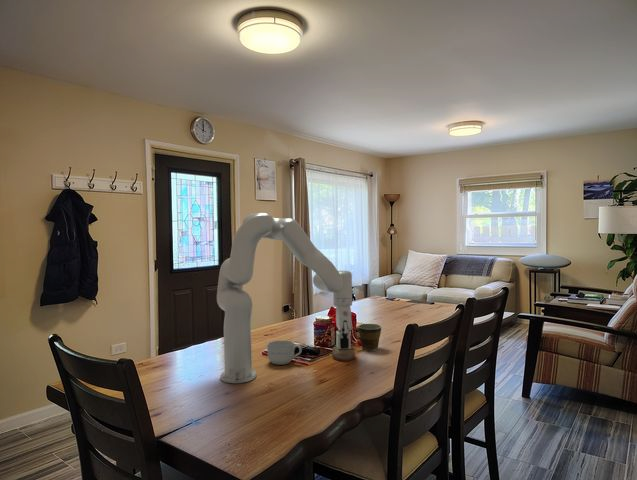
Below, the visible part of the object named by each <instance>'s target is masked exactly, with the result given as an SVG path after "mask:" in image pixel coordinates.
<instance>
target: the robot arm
mask: <svg viewBox="0 0 637 480" xmlns="http://www.w3.org/2000/svg"><path fill="white" fill-rule="evenodd" d="M262 239H268V240H278V241H283V242H284V244H285V245H286V247H287V248H288V249H289V250H290V253H292V255H293V256H294V258H295V259H296V260H297V261H298V262H299V263H300V264H302V265H303V266H305V267H307V268H309V269H311V271H312V272H314V273H315V274H314V275H313V277H312V283H313V285H314V286H315V288H316V289H318V290H321V291H325V292H329V293H333V294H332V295H333V298H332V299H333V306H335V323H336V324H335V325H336V328H337V329H338V330H337V331H341V338H340V347H341V348H349V338H348V331H349V332H350V331H351V330H352V328H353V326H352V325H353V323H352V322H353V321H352V309H351V307H352V306H353V274H352V272H351V271H349V270H338V269H337V268H336V266H335V265H334V263H333V262H332V261H331V260H330V259H329V258H328V257H327V256H326V255H324V253H322V252H321V251H320V250H319V249H318V248H317V247H316V246H315V245H314V243H313V242H312V240H311V239H310V238H309V236H308V235H307V233H306V232H305V230H304V229H303V228H302V226H301V225H300V224H299V222H298V221H297V220H296V219H294V218H290V217H289V218H286V217H285V218H279V217H276V218H275V217H272V215H271V214H269V213H266V212H257V213H250V214H248V215H246V216H245V217H244V219H243V220H242V224H241V225H240V226H239V228H238V229H237V231H236V232H235V233H234V237H233V240H232V245H231V251H230V257H229V258H226V259H225V260H224V261H223V262H222V264H221V266H220V268H219V275H218V282H217V291H216V303H217V305H218V308H220V309H221V310H222V311H224V317H223V318H224V320H223V344H224V346H223V349H224V350H223V351H224V352H223V353H224V355H223V356H224V371H223V372H222V373H221V374H220V375H219V377H220V380H221V381H222V382H224V383H226V384H242V383H243V384H244V383H247V382H250V381H252V380H254V379H256V377H257V372H256V370H254V369H253V363H252V362H253V361H252V360H253V359H252V358H253V357H252V355H253V354H252V313H253V299H252V297H251V296H250V294H249V293H248V292H247V291H246V290H244V289H243V287H244V285H245V286H246V285H247V284H248V283H250V281H252V279H253V274H254V267H255V256H256V251H257V246H258V244H259V242H260V241H261V240H262ZM352 331H353V330H352ZM343 332H344V333H343Z"/></svg>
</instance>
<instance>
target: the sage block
mask: <svg viewBox="0 0 637 480" xmlns="http://www.w3.org/2000/svg"><path fill="white" fill-rule="evenodd" d="M343 333H344V332H343ZM351 334H352V333H351V332H350V330H348V338H349V348H351V347H352V346H351V345H352V343H351ZM340 338H341V331H338V330H336V331H335V339H336V340H335V347H336V346H337V348H338V349H348V348H341V347H340Z"/></svg>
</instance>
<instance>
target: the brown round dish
mask: <svg viewBox="0 0 637 480" xmlns="http://www.w3.org/2000/svg"><path fill="white" fill-rule="evenodd" d="M331 348H332V350H331V351H332V352H331V354H332V359H333V360H334V361H340V362H347V361H353V360H354V359H355V356H356V354H355V350H356V349H355V347H353V346H351V348H348V349H338V348H337V346H336V345H335V346H334V347H331Z"/></svg>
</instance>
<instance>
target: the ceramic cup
mask: <svg viewBox="0 0 637 480" xmlns="http://www.w3.org/2000/svg"><path fill="white" fill-rule="evenodd" d="M357 327H358V328H357ZM357 327H352V330H351V332H350V333H351V334H352V335H353V336H355V337H356V338H357V339H358V340H359V342H360V344H361V349H362V351H365V352H371V353H372V352H376V351H378V349H379V343H380V337H381V334H382V333H381V332H382V325H380V324H378V323H377V324H376V323H363V324H358V326H357ZM353 330H356V331H357V332H358V335H359V336H357V335H356V334H355V333H354V332H353Z"/></svg>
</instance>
